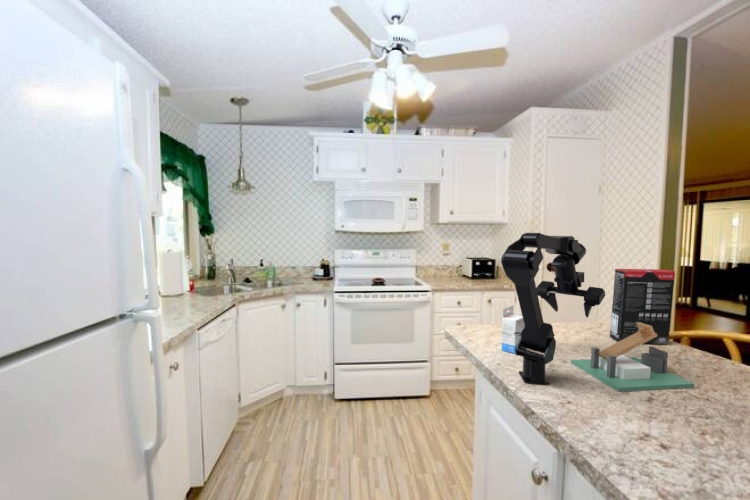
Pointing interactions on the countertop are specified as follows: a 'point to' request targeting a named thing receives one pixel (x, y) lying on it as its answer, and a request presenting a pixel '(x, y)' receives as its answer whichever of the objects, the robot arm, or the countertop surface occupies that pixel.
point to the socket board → (635, 383)
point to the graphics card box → (642, 303)
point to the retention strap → (630, 341)
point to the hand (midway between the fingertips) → (571, 313)
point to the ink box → (511, 329)
